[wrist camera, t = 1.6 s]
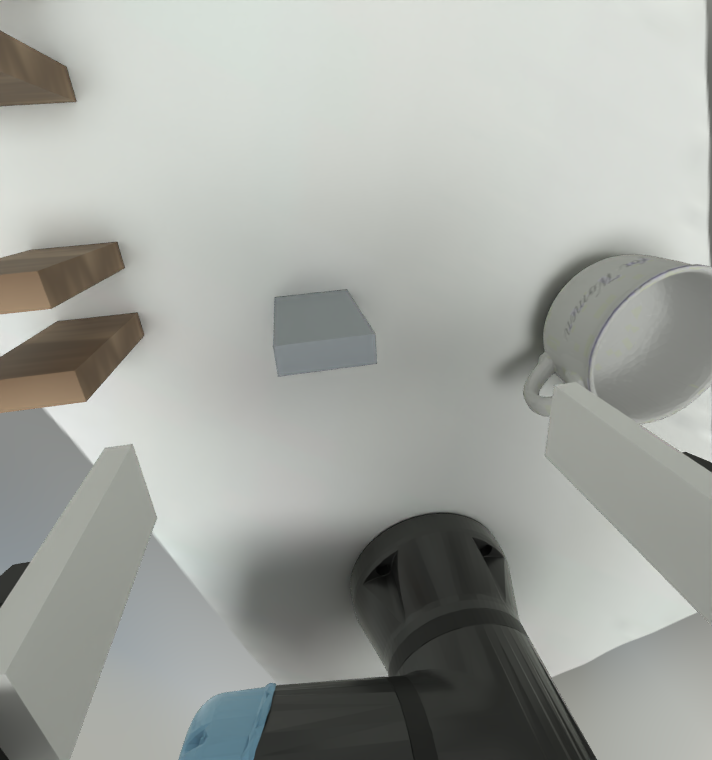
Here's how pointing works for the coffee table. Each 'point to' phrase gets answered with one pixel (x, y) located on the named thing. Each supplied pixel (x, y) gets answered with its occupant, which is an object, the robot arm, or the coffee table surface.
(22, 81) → the domino
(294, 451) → the coffee table surface
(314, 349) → the domino
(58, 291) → the domino
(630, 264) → the teacup
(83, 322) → the domino
